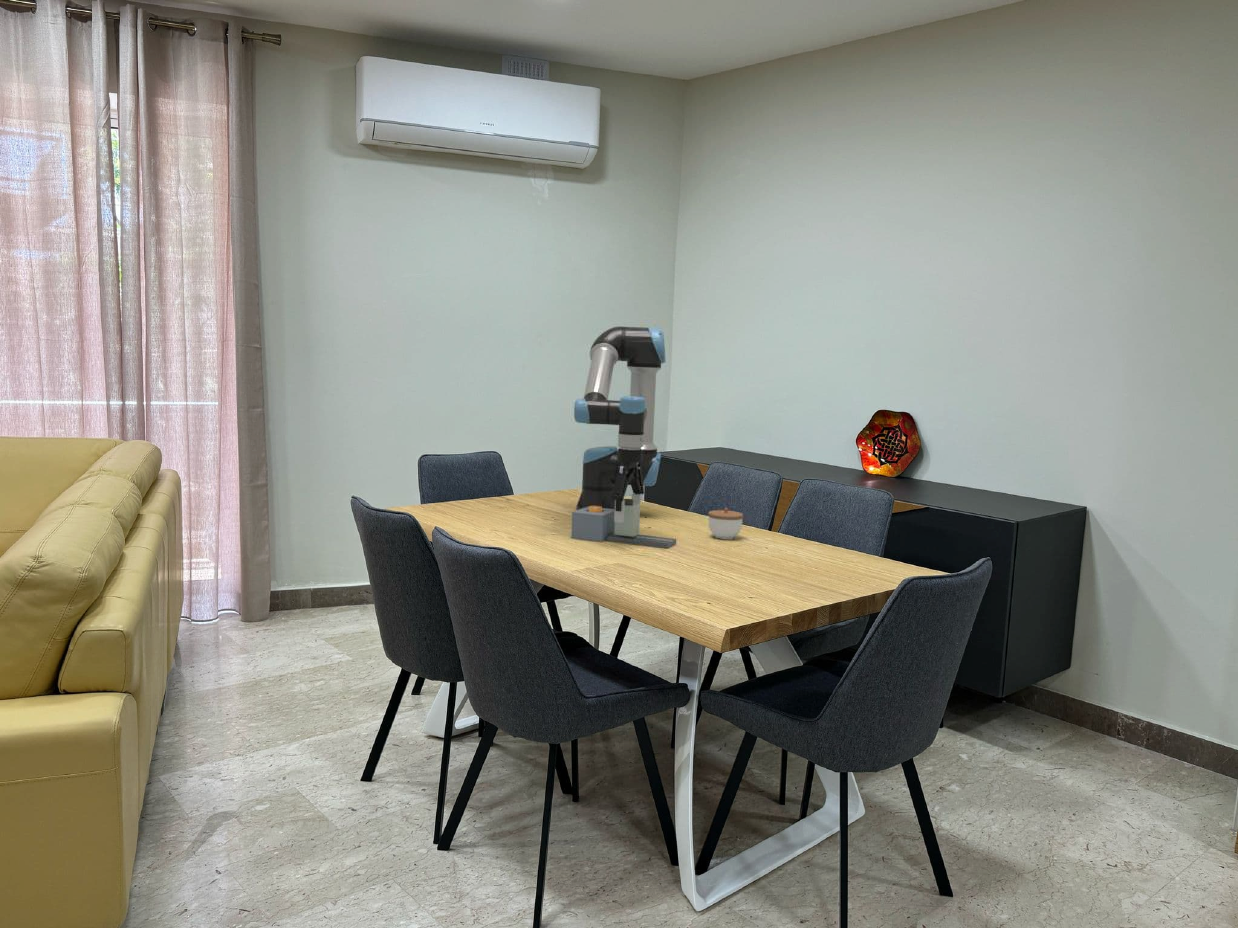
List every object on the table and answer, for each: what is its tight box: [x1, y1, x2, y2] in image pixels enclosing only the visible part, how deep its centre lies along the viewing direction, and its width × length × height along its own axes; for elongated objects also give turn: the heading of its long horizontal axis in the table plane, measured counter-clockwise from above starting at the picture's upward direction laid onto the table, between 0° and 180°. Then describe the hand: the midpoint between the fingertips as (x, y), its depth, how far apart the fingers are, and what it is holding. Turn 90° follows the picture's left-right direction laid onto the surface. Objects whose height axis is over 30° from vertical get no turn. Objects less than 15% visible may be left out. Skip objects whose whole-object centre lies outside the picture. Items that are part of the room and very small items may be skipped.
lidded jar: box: [708, 507, 744, 540], centre depth 294 cm, size 11×11×9 cm
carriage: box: [614, 498, 641, 537], centre depth 282 cm, size 6×5×10 cm
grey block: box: [570, 506, 615, 543], centre depth 286 cm, size 10×12×8 cm
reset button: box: [589, 506, 602, 513], centre depth 286 cm, size 4×4×6 cm
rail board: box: [607, 533, 677, 550], centre depth 281 cm, size 19×8×2 cm, turn 68°
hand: (627, 518), depth 282 cm, fingers open, 13 cm apart
